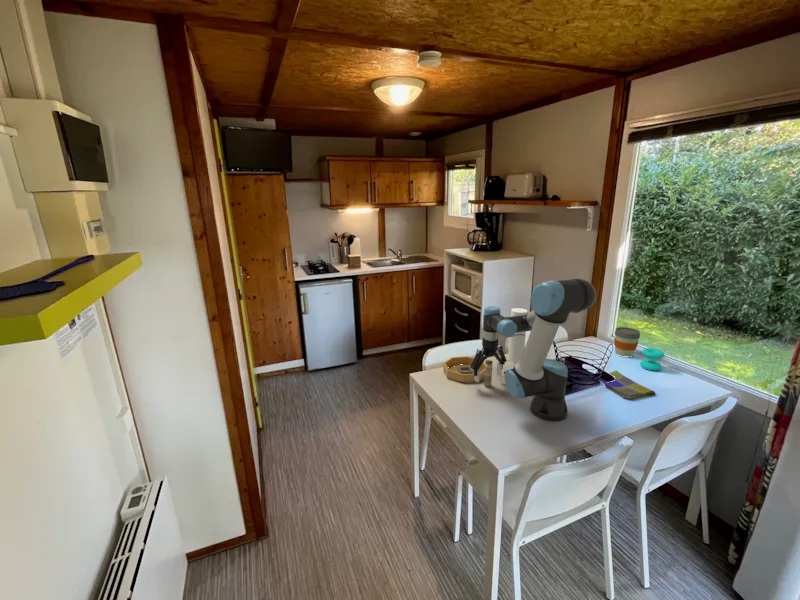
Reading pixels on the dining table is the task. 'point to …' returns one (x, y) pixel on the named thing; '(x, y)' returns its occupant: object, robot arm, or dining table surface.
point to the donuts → (653, 355)
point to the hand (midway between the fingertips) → (487, 378)
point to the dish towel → (627, 387)
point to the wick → (488, 373)
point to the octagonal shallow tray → (462, 369)
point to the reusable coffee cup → (626, 341)
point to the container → (516, 339)
